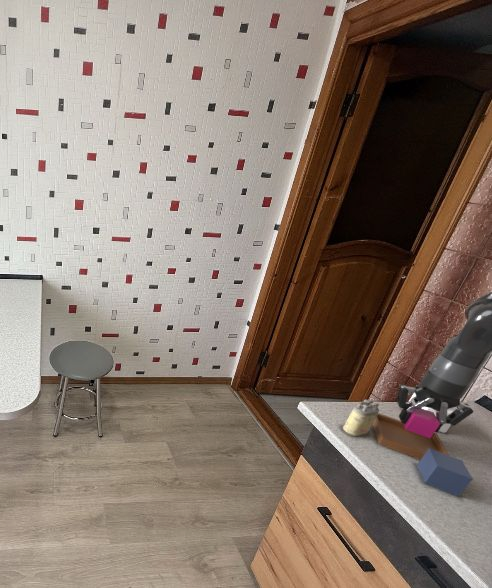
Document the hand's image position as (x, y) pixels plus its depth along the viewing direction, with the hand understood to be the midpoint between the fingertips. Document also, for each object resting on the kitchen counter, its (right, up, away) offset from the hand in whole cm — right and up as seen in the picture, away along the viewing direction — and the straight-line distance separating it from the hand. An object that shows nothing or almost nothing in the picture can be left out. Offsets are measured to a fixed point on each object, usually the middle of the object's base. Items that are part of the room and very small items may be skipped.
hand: (415, 425), depth 89 cm
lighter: (-13, -3, +4) cm, 14 cm away
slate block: (-4, -10, -9) cm, 14 cm away
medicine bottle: (+13, -3, +10) cm, 17 cm away
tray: (0, -5, +2) cm, 6 cm away
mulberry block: (0, -1, 0) cm, 1 cm away
